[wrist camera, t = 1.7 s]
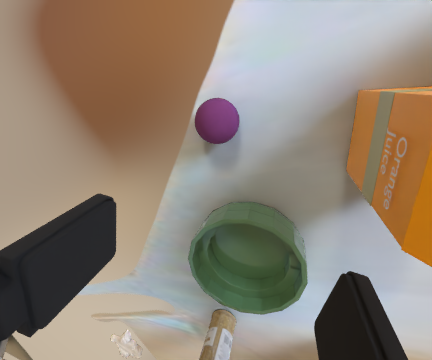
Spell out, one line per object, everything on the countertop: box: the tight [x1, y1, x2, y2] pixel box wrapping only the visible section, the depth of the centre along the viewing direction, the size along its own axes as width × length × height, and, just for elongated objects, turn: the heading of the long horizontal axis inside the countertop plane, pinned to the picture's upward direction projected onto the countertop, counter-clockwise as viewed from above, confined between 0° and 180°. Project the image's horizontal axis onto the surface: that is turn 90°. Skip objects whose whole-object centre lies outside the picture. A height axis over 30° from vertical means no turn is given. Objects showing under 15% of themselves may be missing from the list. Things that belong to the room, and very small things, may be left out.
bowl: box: [188, 202, 308, 314], centre depth 32 cm, size 15×15×5 cm
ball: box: [195, 98, 239, 144], centre depth 26 cm, size 5×5×5 cm
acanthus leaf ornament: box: [110, 330, 142, 358], centre depth 52 cm, size 8×7×2 cm
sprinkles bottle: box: [199, 310, 236, 360], centre depth 35 cm, size 5×5×13 cm
